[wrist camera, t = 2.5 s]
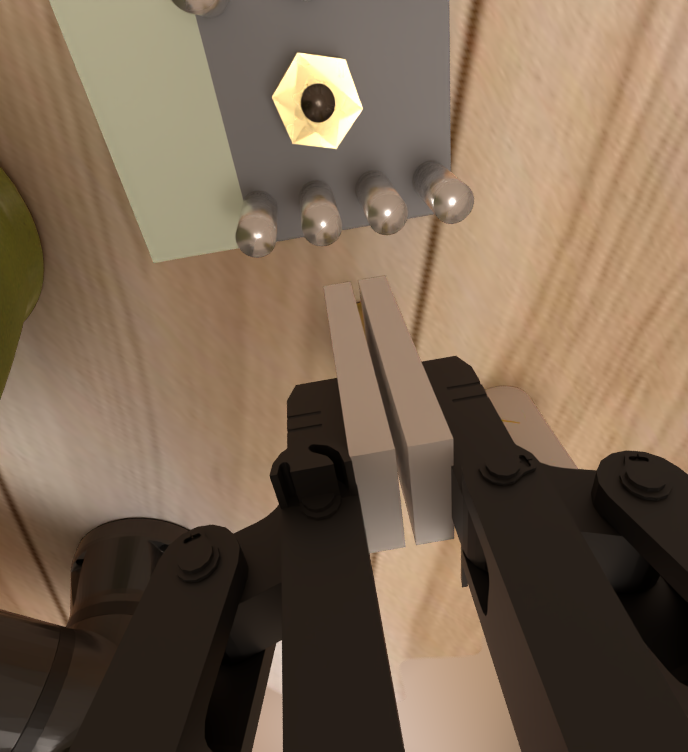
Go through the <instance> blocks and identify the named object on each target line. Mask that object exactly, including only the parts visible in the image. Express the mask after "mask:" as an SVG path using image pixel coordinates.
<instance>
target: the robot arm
mask: <svg viewBox="0 0 688 752" xmlns="http://www.w3.org/2000/svg"><path fill="white" fill-rule="evenodd" d="M358 283H359V290H360V298H361V305H362V313H363V320H364V328H365V334H364V331H363V327H362V323H361V319H360V315H359V312H358V308H357V304H356V300H355V297H354V293H353V289H352V285H351V282H345V283H339V284H333V285H327V286H323V287H324V294H325V300H326V307H327V314H328V320H329V327H330V333H331V340H332V346H333V353H334V360H335V366H336V373H337V378H334V379H328V380H323V381H317V382H311V383H306V384H300V385H296V386H295V388H294V389H293V391H292V393H291V395H290V396H289V398H288V400H287V418H288V420H287V431H288V433H287V449H286V450H285V451H283V452H282V453H281V454H280V455H279V456H278V458H277V459H276V460H275V461H274V463H273V465H272V468H271V472H270V479H271V482H272V485H273V488H274V490H275V493H276V496H277V499H278V502H279V505H278V506H277V508H276V509H275V510H274V511H273V512H272V513H270V514H269V515H268V516H267V517H265V518H264V519H262V520H260V521H259V522H257V523H255V524H253V525H251V526H249V527H246V528H244V529H242V530H240V531H238V532H236V533H234V534H233V533H232V532H231V531H229V530H228V529H227V528H225V527H221V526H216V525H207V526H201V527H196V528H194V529H192V530H190V531H188V530H186V529H184V528H182V527H180V526H177V525H174V524H171V523H168V522H164V521H159V520H152V519H125V520H119V521H114V522H110V523H107V524H104V525H101V526H99V527H97V528H95V529H94V530H92V531H90V532H89V533H88V534H87V535H86V536H85V537H84V538H83V539H82V540H81V542H80V544H79V546H78V549H77V551H76V554H75V556H74V559H73V561H72V566H71V600H70V617H69V620H68V623H67V626H66V627H63V626H59V625H56V624H52V623H48V622H45V621H41V620H38V619H34V618H30V617H27V616H23V615H19V614H16V613H12V612H8V611H5V610H1V609H0V752H252V748H253V743H254V739H255V734H256V730H257V726H258V722H259V717H260V713H261V708H262V704H263V699H264V695H265V690H266V686H267V682H268V677H269V673H270V668H271V664H272V659H273V655H274V651H275V646H276V643H277V642H279V641H281V640H282V693H283V752H405V749H404V744H403V738H402V733H401V727H400V721H399V716H398V710H397V704H396V699H395V693H394V688H393V682H392V677H391V671H390V665H389V660H388V654H387V649H386V643H385V638H384V632H383V626H382V621H381V615H380V610H379V604H378V598H377V593H376V587H375V582H374V576H373V571H372V566H371V560H370V553H374V552H380V551H386V550H391V549H397V548H403V547H406V546H405V537H404V528H403V519H402V509H401V500H400V491H399V482H398V476H399V480H400V484H401V488H402V492H403V495H404V499H405V503H406V507H407V511H408V515H409V519H410V523H411V527H412V530H413V534H414V538H415V542H416V545H420V544H426V543H432V542H437V541H443V540H449V539H454V526H455V529H456V531H457V534H458V537H459V540H460V543H461V582H462V587H467V586H468V585H469V588H470V591H471V594H472V597H473V601H474V604H475V607H476V610H477V613H478V616H479V619H480V623H481V626H482V629H483V632H484V635H485V638H486V641H487V645H488V648H489V651H490V654H491V657H492V660H493V663H494V667H495V670H496V673H497V676H498V679H499V682H500V685H501V689H502V692H503V694H504V698H505V701H506V704H507V708H508V710H509V714H510V717H511V720H512V723H513V726H514V730H515V733H516V736H517V739H518V742H519V745H520V749H521V752H688V474H687V473H685V472H684V471H683V470H681V469H680V468H679V467H677V466H676V465H674V464H672V463H670V462H669V461H667V460H665V459H664V458H662V457H659V456H655V455H652V454H649V453H646V452H638V451H622V452H617V453H612V454H610V455H609V456H607V457H606V458H604V459H603V460H601V462H600V464H599V467H598V469H597V471H595V470H583V469H571V468H561V467H555V466H550V465H547V464H544V463H541V462H539V460H538V459H537V458H536V457H535V456H534V455H533V454H532V453H531V452H529V451H527V450H526V449H524V448H522V447H520V446H518V445H516V444H515V443H514V441H513V439H512V438H511V436H510V434H509V432H508V430H507V429H506V427H505V425H504V423H503V422H502V420H501V418H500V416H499V414H498V413H497V411H496V409H495V407H494V406H493V404H492V402H491V400H490V398H489V397H487V393H486V391H485V389H484V388H483V386H482V384H480V381H479V379H478V377H477V375H476V373H475V372H474V370H473V368H472V367H471V366H470V365H468V364H467V363H465V362H464V361H463V360H461V359H460V358H458V357H457V356H452V357H446V358H441V359H435V360H429V361H423V362H421V360H420V357H419V355H418V353H417V350H416V348H415V345H414V343H413V341H412V338H411V336H410V333H409V331H408V329H407V326H406V324H405V321H404V319H403V317H402V314H401V312H400V309H399V307H398V305H397V302H396V300H395V297H394V295H393V293H392V290H391V288H390V285H389V283H388V281H387V278H386V276H379V277H373V278H368V279H362V280H358ZM365 335H366V338H365ZM397 472H398V473H397Z"/></svg>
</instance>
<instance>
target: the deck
mask: <svg viewBox="0 0 688 752" xmlns="http://www.w3.org/2000/svg"><path fill="white" fill-rule="evenodd" d="M49 1H50V4H51V6H52V9H53V12H54V14H55V17H56V19H57V22H58V24H59V27H60V29H61V32H62V34H63V37H64V39H65V42H66V44H67V47H68V49H69V52H70V54H71V57H72V59H73V62H74V64H75V67H76V69H77V72H78V74H79V77H80V79H81V82H82V84H83V87H84V89H85V92H86V94H87V97H88V99H89V102H90V104H91V107H92V109H93V112H94V114H95V117H96V120H97V122H98V125H99V127H100V130H101V132H102V135H103V137H104V140H105V142H106V145H107V147H108V150H109V152H110V155H111V157H112V160H113V162H114V165H115V167H116V170H117V172H118V175H119V177H120V180H121V182H122V185H123V187H124V190H125V192H126V195H127V197H128V200H129V202H130V205H131V207H132V210H133V212H134V215H135V217H136V220H137V222H138V225H139V228H140V230H141V233H142V235H143V238H144V240H145V243H146V245H147V248H148V250H149V253H150V255H151V258H152V260H153V263H157V262H163V261H168V260H174V259H180V258H186V257H191V256H197V255H203V254H209V253H214V252H220V251H226V250H231V249H237V248H239V247H238V245H237V243H236V238H235V235H236V230H237V226H238V222H239V218H240V214H241V210H242V206H243V202H244V199H245V198H246V196H247V195H248V194H250V193H252V192H254V191H264V192H266V193H268V194H270V195H271V196H272V197H273V198H274V200H275V201H276V204H277V210H278V211H277V234H276V242H277V241H283V240H289V239H295V238H300V237H305V236H304V234H303V231H302V224H301V212H300V201H299V196H300V192H301V190H302V188H303V187H304V186H305V185H306V184H307V183H309V182H312V181H321V182H324V183H326V184H327V185H328V186H329V187H330V188H331V190H332V192H333V195H334V198H335V202H336V205H337V208H338V212H339V215H340V218H341V222H342V230H346V229H352V228H358V227H363V226H369V225H370V224H369V222H368V219H367V217H366V215H365V213H364V210H363V208H362V206H361V204H360V201H359V199H358V197H357V194H356V185H357V182H358V180H359V179H360V177H361V176H362V175H363V174H365V173H367V172H369V171H379V172H381V173H383V174H384V175H385V176H386V177H387V178H388V180H389V181H390V182H391V184H392V185H393V187H394V188H395V189H396V191H397V192H398V194H399V195H400V196H401V198H402V199H403V201H404V202H405V204H406V206H407V209H408V217H407V219H409V218H415V217H421V216H427V215H432V214H434V212H433V211H432V210H431V209H430V208H429V206H428V205H427V204H426V203H425V202H424V200H423V199H422V198H421V197H420V196H419V194H418V193H417V192H416V191H415V189H414V187H413V175H414V172H415V171H416V169H417V168H418V167H419V166H420V165H421V164H422V163H424V162H426V161H437V162H439V163H440V164H442V165H443V166H444V167H445V168H446V169H448V170H449V171H450V172H451V154H450V32H449V0H310V1H304V0H229V3H228V6H227V8H226V9H225V11H224V12H223V13H222V14H221V15H219V16H217V17H205V16H200V15H196V14H191V13H187V12H185V11H183V10H181V9H180V8H178V7H177V6H176V5H175V4H174V3H173V2H172V1H171V0H49ZM297 51H298V52H305V53H312V54H319V55H326V56H333V57H340V58H343V59H345V60H346V63H347V66H348V68H349V71H350V74H351V77H352V80H353V83H354V85H355V88H356V91H357V94H358V97H359V100H360V102H361V105H362V108H363V109H362V111H361V112H360V114H359V115H358V117H357V118H356V120H355V121H354V123H353V124H352V126H351V127H350V129H349V130H348V132H347V133H346V135H345V136H344V138H343V139H342V141H341V142H340V144H339V145H338V147H337V148H336V149H335V148H326V147H318V146H309V145H300V144H293V143H292V141H291V139H290V136H289V134H288V132H287V130H286V128H285V125H284V123H283V121H282V119H281V116H280V114H279V112H278V110H277V108H276V105H275V103H274V101H273V99H272V94H273V92H274V90H275V88H276V87H277V85H278V83H279V81H280V80H281V78H282V76H283V74H284V73H285V71H286V69H287V68H288V66H289V64H290V62H291V61H292V59H293V57H294V55H295V54H296V52H297Z"/></svg>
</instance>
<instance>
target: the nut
mask: <svg viewBox="0 0 688 752" xmlns="http://www.w3.org/2000/svg"><path fill="white" fill-rule="evenodd" d="M272 99H273V101H274V103H275V105H276V108H277V110H278V112H279V114H280V116H281V119H282V121H283V123H284V125H285V128H286V130H287V132H288V134H289V136H290V139H291V141H292V143H293V144H300V145H309V146H318V147H326V148H335V149H336V148H337V147H338V145H339V144H340V142H341V141H342V139H343V138H344V136H345V135H346V133H347V132H348V130H349V129H350V127H351V126H352V124H353V123H354V121H355V120H356V118H357V117H358V115H359V114H360V112H361V111H362V109H363V108H362V105H361V102H360V100H359V97H358V94H357V91H356V88H355V85H354V83H353V80H352V77H351V74H350V71H349V68H348V66H347V63H346V60H345V59H343V58H340V57H333V56H326V55H319V54H312V53H305V52H298V51H297V52H296V54H295V55H294V57H293V59H292V61H291V62H290V64H289V66H288V68H287V69H286V71H285V73H284V74H283V76H282V78H281V80H280V81H279V83H278V85H277V87H276V88H275V90H274V92H273V94H272Z"/></svg>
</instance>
